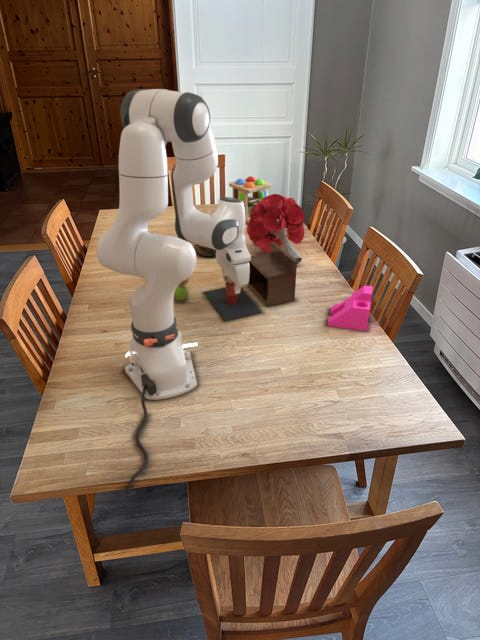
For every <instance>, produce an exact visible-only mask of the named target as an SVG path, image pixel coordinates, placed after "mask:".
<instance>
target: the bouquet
mask: <svg viewBox="0 0 480 640" xmlns="http://www.w3.org/2000/svg"><path fill="white" fill-rule="evenodd" d="M249 217H250V220H249V222H248V224H247V223H246V233H247V236H248V239H249V240H250V241H251V242H252V245H254V246H255V247H258V248H260V250H261V251H262V252H265V254H266V253H270V249H271V242H275V243H276V244H277V245H278V246H279V247H281V248H282V246H283V248H284V251H285V252H287V253H288V254H289V255H290V256H291V257H293V258H294V259H295V260H296V261H297V265H298V264H300V263H301V262H302V261H303V257H301V255H300V253H299V252H298V250H297V249H296V248H295V247H294V246H293V245H292V244H291V243H290V242H292V243H293V244H295V245H300V244H301V243H302V242H303V240H304V237H305V234H306V233H305V226H304V223H305V221H306V215H305V213H304V210H303V209H302V208H301V206H300V205H299V204H298V203H297V201H296V199H295V198H293V197H287V196H284V195H282V194H279V193H278V194H277V193H273V194H268V196H266V197H264V198H263V200H262V201H260V202H259V203H258V204H257V205H256V206H255V207H254V208H253V210H252V213H251V214H250V216H249Z"/></svg>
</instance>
